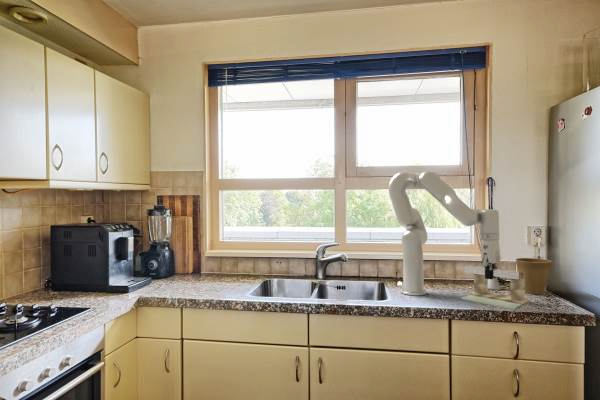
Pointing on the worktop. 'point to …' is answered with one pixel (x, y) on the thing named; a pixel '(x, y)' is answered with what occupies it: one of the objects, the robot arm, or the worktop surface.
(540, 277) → the plant pot
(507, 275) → the rail
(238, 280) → the worktop surface
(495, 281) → the flask
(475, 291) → the rail rack
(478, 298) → the mat
